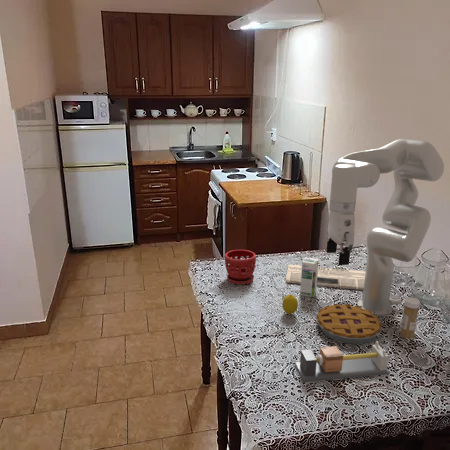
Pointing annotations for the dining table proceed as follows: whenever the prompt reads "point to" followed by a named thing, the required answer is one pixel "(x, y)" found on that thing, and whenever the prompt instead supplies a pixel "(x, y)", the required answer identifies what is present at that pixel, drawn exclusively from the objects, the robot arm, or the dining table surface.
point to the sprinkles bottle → (409, 317)
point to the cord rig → (344, 365)
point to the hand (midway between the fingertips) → (337, 258)
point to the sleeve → (331, 358)
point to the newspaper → (330, 277)
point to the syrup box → (309, 277)
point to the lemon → (290, 304)
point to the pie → (348, 323)
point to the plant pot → (240, 266)
